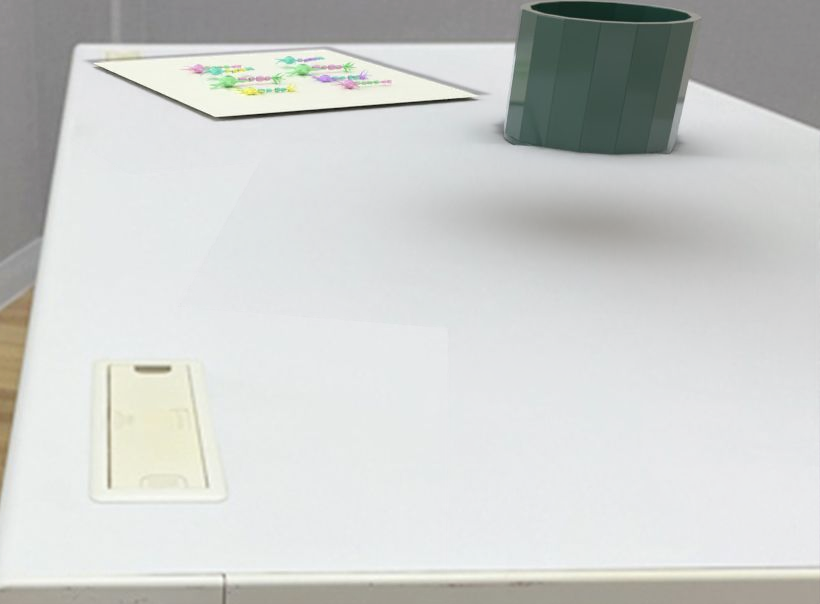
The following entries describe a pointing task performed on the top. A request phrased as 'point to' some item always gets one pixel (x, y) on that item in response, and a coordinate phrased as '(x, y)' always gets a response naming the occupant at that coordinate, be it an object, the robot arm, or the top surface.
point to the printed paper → (278, 82)
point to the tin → (600, 76)
